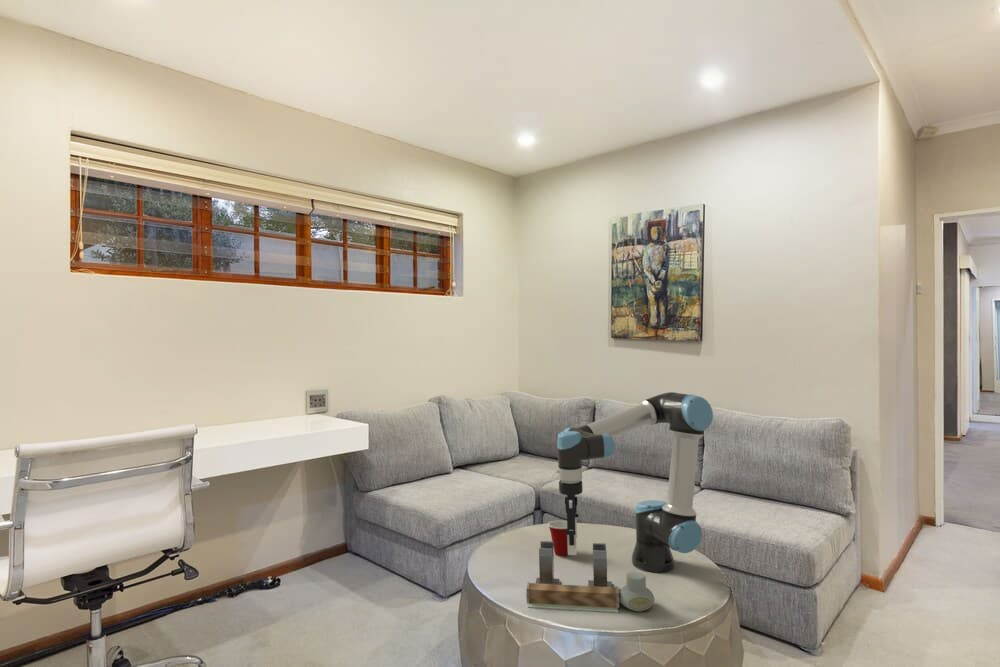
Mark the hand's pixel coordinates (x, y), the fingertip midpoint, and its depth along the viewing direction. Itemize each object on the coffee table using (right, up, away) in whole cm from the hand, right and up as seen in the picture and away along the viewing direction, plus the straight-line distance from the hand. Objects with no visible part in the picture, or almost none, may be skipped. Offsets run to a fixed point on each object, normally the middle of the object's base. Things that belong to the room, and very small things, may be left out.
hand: (572, 546), depth 176 cm
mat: (0, -18, 0) cm, 18 cm away
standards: (+2, -18, +10) cm, 21 cm away
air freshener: (+20, -18, -3) cm, 27 cm away
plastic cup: (+1, -19, +39) cm, 43 cm away
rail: (0, -18, 0) cm, 18 cm away
